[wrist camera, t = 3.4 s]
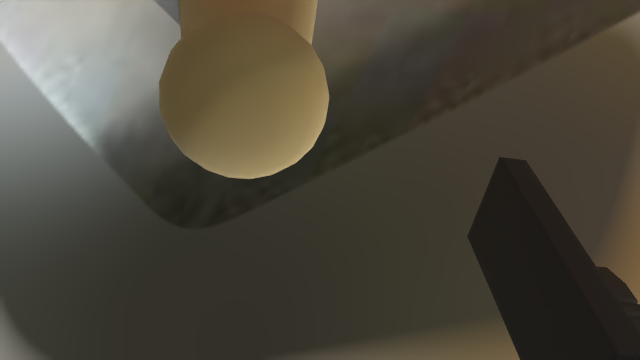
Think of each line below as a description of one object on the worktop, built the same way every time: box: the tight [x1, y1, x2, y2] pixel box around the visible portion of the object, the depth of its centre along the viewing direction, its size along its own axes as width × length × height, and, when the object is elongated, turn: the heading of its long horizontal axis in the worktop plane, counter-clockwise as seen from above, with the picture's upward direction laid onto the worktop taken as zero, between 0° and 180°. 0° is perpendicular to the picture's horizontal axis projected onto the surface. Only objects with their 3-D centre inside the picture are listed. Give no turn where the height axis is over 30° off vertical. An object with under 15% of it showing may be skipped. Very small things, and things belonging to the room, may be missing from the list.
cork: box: [159, 0, 329, 179], centre depth 22 cm, size 6×6×11 cm
